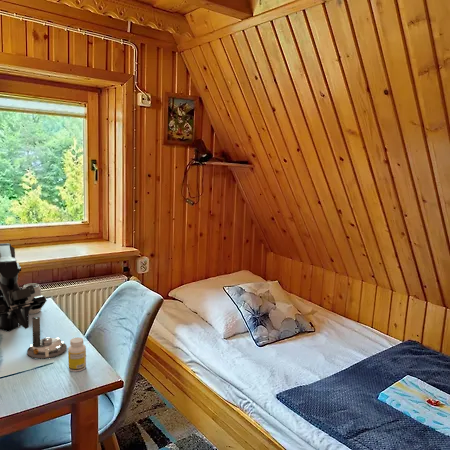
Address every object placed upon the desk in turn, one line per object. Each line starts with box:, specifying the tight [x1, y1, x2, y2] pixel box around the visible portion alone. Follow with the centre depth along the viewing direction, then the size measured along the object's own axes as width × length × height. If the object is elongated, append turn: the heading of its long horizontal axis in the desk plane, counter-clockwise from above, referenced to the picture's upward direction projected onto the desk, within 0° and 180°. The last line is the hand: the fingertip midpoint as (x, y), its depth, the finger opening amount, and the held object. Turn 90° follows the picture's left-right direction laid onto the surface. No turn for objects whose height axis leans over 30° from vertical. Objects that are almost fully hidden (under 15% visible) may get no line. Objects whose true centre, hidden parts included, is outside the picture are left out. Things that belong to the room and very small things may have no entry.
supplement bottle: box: [67, 337, 87, 373], centre depth 139 cm, size 5×5×10 cm
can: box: [22, 282, 42, 315], centre depth 184 cm, size 8×8×12 cm
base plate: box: [26, 342, 68, 360], centre depth 150 cm, size 13×13×4 cm
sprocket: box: [29, 316, 65, 354], centre depth 149 cm, size 11×11×12 cm
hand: (27, 328), depth 151 cm, fingers closed
